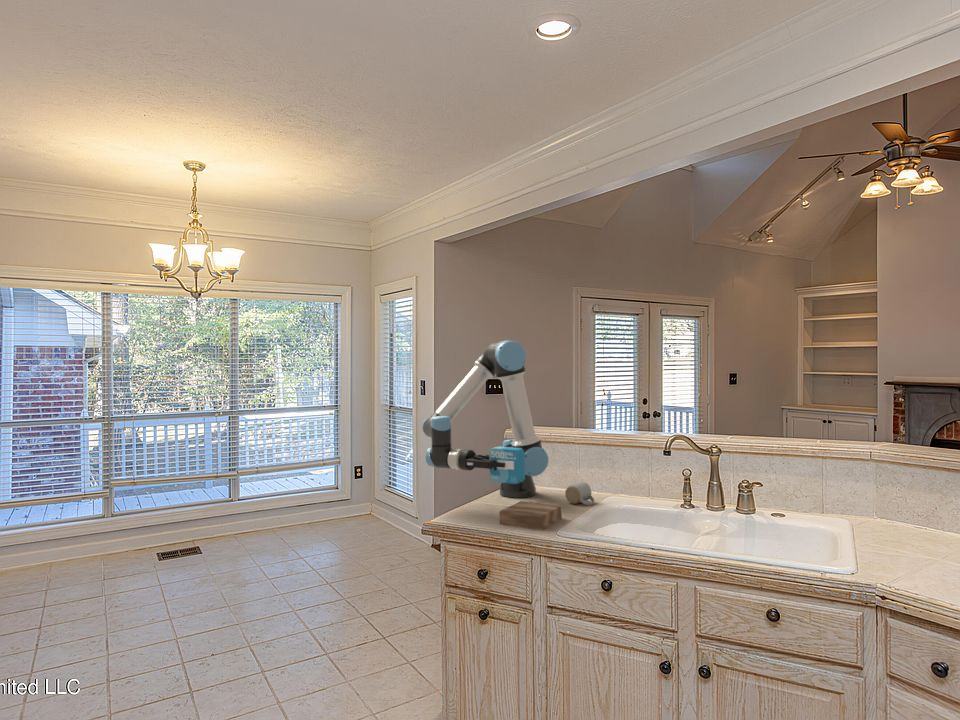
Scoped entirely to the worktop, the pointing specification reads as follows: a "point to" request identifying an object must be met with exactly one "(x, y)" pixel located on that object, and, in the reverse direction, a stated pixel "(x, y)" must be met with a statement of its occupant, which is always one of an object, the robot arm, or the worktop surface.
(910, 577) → the worktop surface
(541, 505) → the walnut block
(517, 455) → the data package
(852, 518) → the worktop surface
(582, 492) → the ceramic mug
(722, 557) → the worktop surface
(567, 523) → the worktop surface
